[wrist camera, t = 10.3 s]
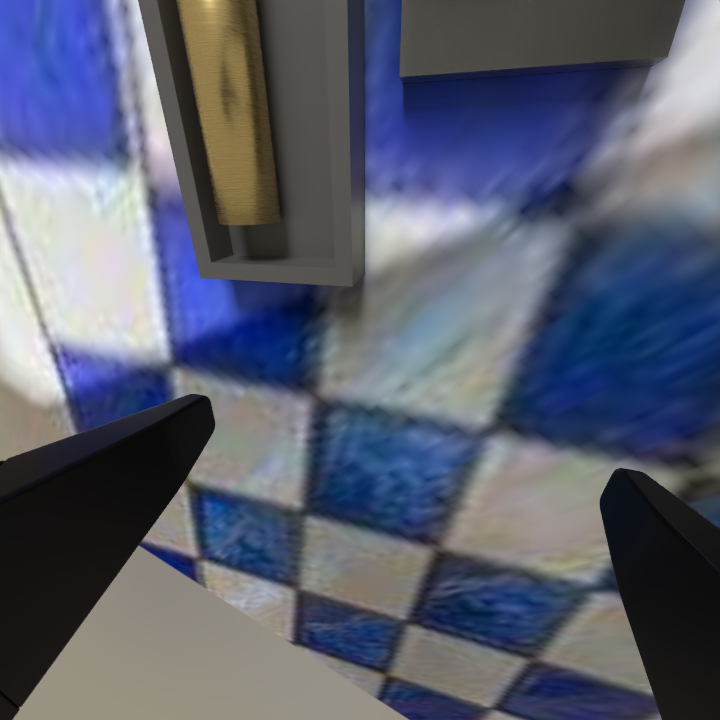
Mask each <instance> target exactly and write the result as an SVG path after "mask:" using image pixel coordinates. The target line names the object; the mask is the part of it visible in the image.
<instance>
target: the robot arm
mask: <svg viewBox="0 0 720 720" xmlns="http://www.w3.org/2000/svg"><path fill="white" fill-rule="evenodd" d="M214 429H215V419H214V415H213V410H212V406H211V401H210V399H209V398H208V397H207V396H203V395H198V394H189V395H186V396H184V397H181V398H178V399H175V400H172V401H169V402H167V403H164V404H161V405H158V406H155V407H152V408H150V409H147V410H144V411H141V412H138V413H135V414H133V415H130V416H127V417H124V418H121V419H118V420H116V421H113V422H110V423H107V424H104V425H101V426H99V427H96V428H93V429H90V430H87V431H84V432H82V433H79V434H76V435H73V436H70V437H67V438H65V439H62V440H59V441H56V442H53V443H50V444H48V445H45V446H42V447H39V448H36V449H33V450H31V451H28V452H25V453H22V454H19V455H16V456H14V457H11V458H8V459H7V460H6V461H0V720H12V719H13V718H14V717H15V715H16V714H17V713H18V711H19V707H21V706H22V705H23V704H24V702H25V701H26V700H27V698H28V697H29V696H30V694H31V693H32V691H33V690H34V689H35V687H36V686H37V685H38V683H39V682H40V680H41V679H42V678H43V676H44V675H45V674H46V672H47V671H48V669H49V668H50V667H51V665H52V664H53V662H54V661H55V660H56V658H57V657H58V656H59V654H60V653H61V651H62V650H63V649H64V647H65V646H66V645H67V643H68V642H69V640H70V639H71V638H72V636H73V635H74V633H75V632H76V631H77V629H78V628H79V627H80V625H81V624H82V623H83V621H84V620H85V618H86V617H87V616H88V614H89V613H90V612H91V610H92V609H93V607H94V606H95V605H96V603H97V601H98V600H99V599H100V598H101V596H102V595H103V594H104V592H105V591H106V589H107V588H108V587H109V585H110V584H111V583H112V581H113V580H114V578H115V577H116V576H117V574H118V573H119V572H120V570H121V569H122V567H123V566H124V565H125V563H126V562H127V560H128V559H129V558H130V556H131V555H132V553H133V552H134V551H135V549H136V548H137V547H138V545H139V544H140V543H141V541H142V540H143V538H144V537H145V536H146V534H147V533H148V532H149V530H150V529H151V527H152V526H153V525H154V523H155V522H156V520H157V519H158V518H159V516H160V515H161V514H162V512H163V511H164V509H165V508H166V507H167V505H168V504H169V503H170V501H171V500H172V498H173V497H174V496H175V494H176V493H177V491H178V490H179V488H180V487H181V486H182V484H183V482H184V481H185V479H186V478H187V476H188V474H189V473H190V471H191V469H192V468H193V466H194V464H195V462H196V461H197V459H198V457H199V456H200V454H201V452H202V451H203V449H204V447H205V445H206V444H207V442H208V440H209V439H210V437H211V435H212V434H213V431H214ZM600 511H601V515H602V520H603V524H604V529H605V533H606V538H607V542H608V547H609V551H610V556H611V560H612V565H613V569H614V574H615V578H616V582H617V586H618V589H619V592H620V596H621V599H622V602H623V605H624V608H625V611H626V614H627V617H628V620H629V623H630V626H631V629H632V632H633V635H634V638H635V641H636V644H637V647H638V650H639V653H640V656H641V659H642V662H643V665H644V668H645V671H646V673H647V676H648V679H649V682H650V685H651V688H652V691H653V694H654V697H655V700H656V703H657V706H658V709H659V712H660V715H661V718H662V720H720V529H719V528H718V527H716V526H715V525H714V524H712V523H711V522H710V521H708V520H707V519H706V518H704V517H703V516H702V515H700V514H699V513H698V512H696V511H695V510H694V509H692V508H691V507H690V506H688V505H687V504H685V503H684V502H683V501H681V500H680V499H679V498H677V497H676V496H675V495H673V494H672V493H671V492H669V491H668V490H667V489H665V488H664V487H663V486H661V485H660V484H658V483H657V482H656V481H654V480H653V479H652V478H650V477H649V476H648V475H646V474H645V473H643V472H640V471H635V470H629V469H624V468H619V469H616V470H615V471H614V472H613V474H612V475H611V477H610V479H609V481H608V483H607V485H606V487H605V489H604V491H603V493H602V495H601V498H600Z"/></svg>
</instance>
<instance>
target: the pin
mask: <svg viewBox="0 0 720 720" xmlns="http://www.w3.org/2000/svg"><path fill="white" fill-rule="evenodd" d="M176 2H177V7H178V12H179V17H180V22H181V28H182V33H183V38H184V43H185V49H186V54H187V59H188V64H189V69H190V75H191V80H192V85H193V90H194V95H195V101H196V106H197V111H198V116H199V122H200V127H201V132H202V137H203V142H204V148H205V153H206V158H207V163H208V168H209V174H210V179H211V184H212V189H213V195H214V200H215V205H216V210H217V215H218V221H219V224H222V225H257V224H269V223H276V222H280V221H281V218H280V209H279V200H278V191H277V182H276V174H275V165H274V156H273V147H272V138H271V130H270V121H269V112H268V103H267V94H266V86H265V77H264V68H263V59H262V50H261V42H260V33H259V24H258V15H257V6H256V0H176Z"/></svg>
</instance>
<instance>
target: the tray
mask: <svg viewBox="0 0 720 720" xmlns="http://www.w3.org/2000/svg"><path fill="white" fill-rule="evenodd" d="M138 2H139V6H140V11H141V15H142V20H143V24H144V29H145V33H146V37H147V42H148V46H149V51H150V55H151V60H152V64H153V69H154V73H155V77H156V82H157V86H158V91H159V95H160V100H161V104H162V109H163V113H164V117H165V122H166V126H167V131H168V135H169V140H170V144H171V149H172V153H173V157H174V162H175V166H176V171H177V175H178V180H179V184H180V189H181V193H182V198H183V202H184V206H185V211H186V215H187V220H188V224H189V229H190V233H191V238H192V242H193V246H194V251H195V255H196V260H197V264H198V269H199V273H200V278H209V279H227V280H244V281H262V282H279V283H296V284H314V285H331V286H349V287H353V286H354V285H355V284H356V283H357V282H358V281H359V280H360V278H361V277H362V276H363V275H364V274H365V152H364V0H256V6H257V15H258V24H259V33H260V42H261V50H262V59H263V68H264V77H265V86H266V94H267V103H268V112H269V121H270V130H271V138H272V147H273V156H274V165H275V174H276V182H277V191H278V200H279V209H280V218H281V221H280V222H276V223H269V224H257V225H222V224H219V221H218V215H217V210H216V205H215V200H214V195H213V189H212V184H211V179H210V174H209V168H208V163H207V158H206V153H205V148H204V142H203V137H202V132H201V127H200V122H199V116H198V111H197V106H196V101H195V95H194V90H193V85H192V80H191V75H190V69H189V64H188V59H187V54H186V49H185V43H184V38H183V33H182V28H181V22H180V17H179V12H178V7H177V2H176V0H138Z"/></svg>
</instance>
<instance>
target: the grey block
mask: <svg viewBox="0 0 720 720" xmlns="http://www.w3.org/2000/svg"><path fill="white" fill-rule="evenodd" d="M684 3H685V0H402V15H401V44H400V72H399V77H400V79H401V81H402V83H417V82H431V81H445V80H460V79H474V78H488V77H502V76H516V75H530V74H544V73H558V72H572V71H587V70H601V69H615V68H629V67H643V66H653V65H655V64H656V63H658V62H660V61H661V60H663V59H665V58H667V57H668V54H669V51H670V47H671V44H672V41H673V38H674V35H675V32H676V28H677V25H678V22H679V19H680V16H681V12H682V9H683V6H684Z"/></svg>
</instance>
